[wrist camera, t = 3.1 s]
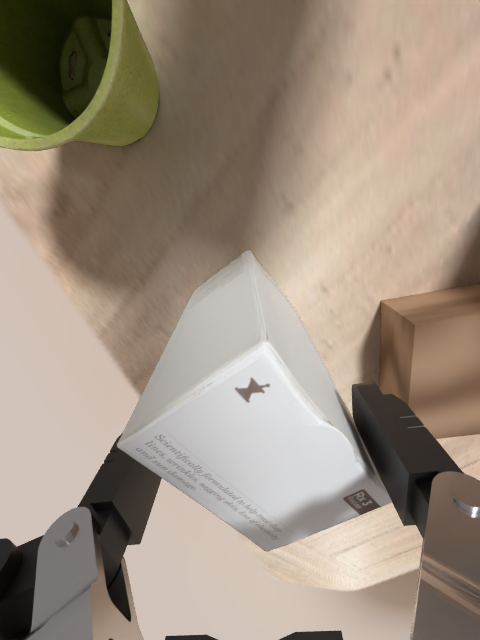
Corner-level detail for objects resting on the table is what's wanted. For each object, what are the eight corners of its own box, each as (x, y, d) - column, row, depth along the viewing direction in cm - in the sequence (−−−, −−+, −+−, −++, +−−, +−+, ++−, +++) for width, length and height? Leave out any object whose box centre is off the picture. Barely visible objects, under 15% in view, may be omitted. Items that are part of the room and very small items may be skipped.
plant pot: (162, 199, 18) (94, 193, 10) (28, 136, 17) (-169, 73, 9) (208, 36, 14) (157, -174, 7) (41, -61, 13) (-273, -467, 5)
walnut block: (379, 299, 21) (415, 325, 16) (524, 273, 20) (607, 294, 15) (377, 399, 25) (405, 442, 21) (496, 384, 24) (554, 425, 19)
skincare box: (194, 289, 21) (90, 442, 7) (252, 243, 19) (259, 332, 6) (253, 358, 23) (258, 565, 10) (309, 323, 22) (408, 516, 8)
